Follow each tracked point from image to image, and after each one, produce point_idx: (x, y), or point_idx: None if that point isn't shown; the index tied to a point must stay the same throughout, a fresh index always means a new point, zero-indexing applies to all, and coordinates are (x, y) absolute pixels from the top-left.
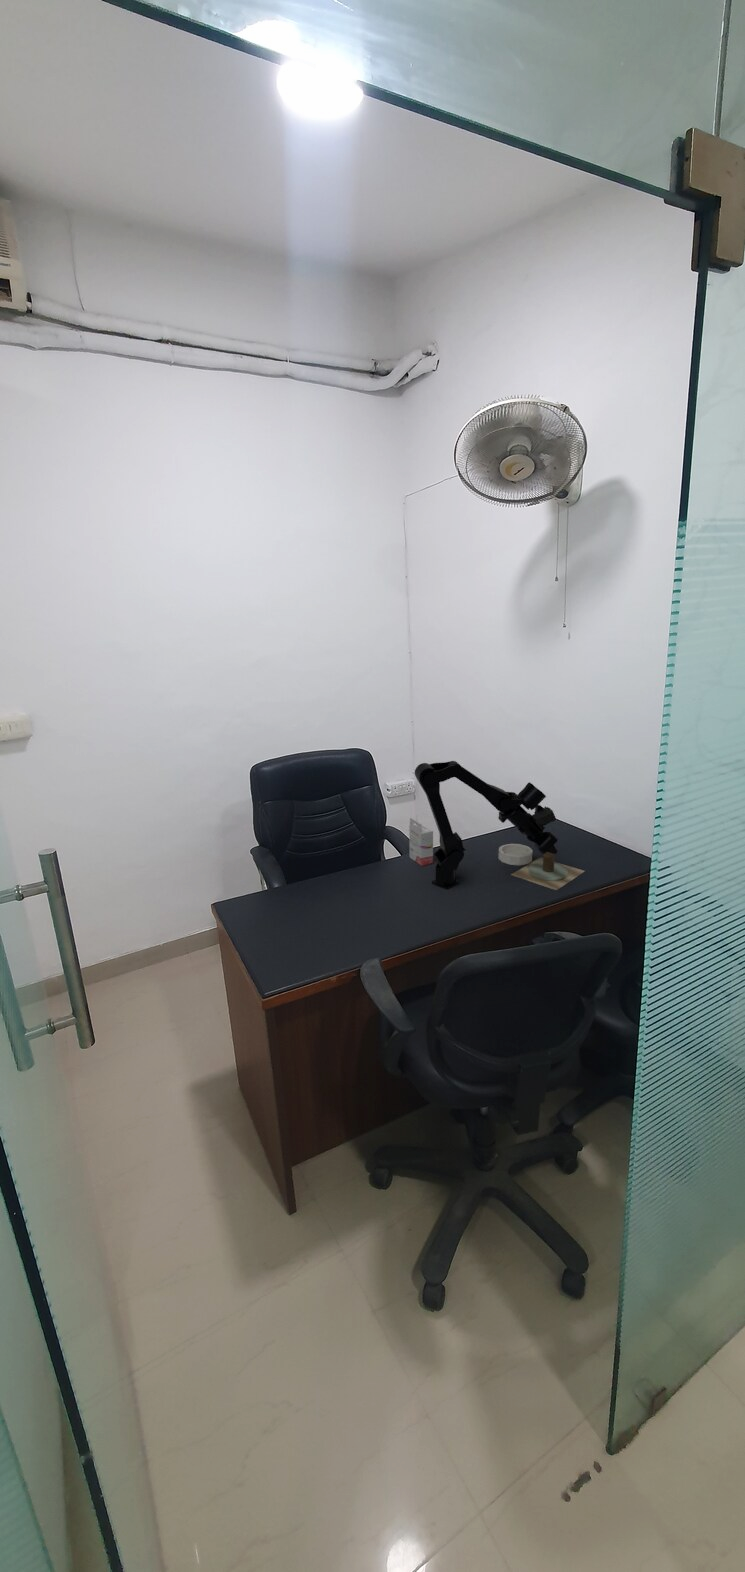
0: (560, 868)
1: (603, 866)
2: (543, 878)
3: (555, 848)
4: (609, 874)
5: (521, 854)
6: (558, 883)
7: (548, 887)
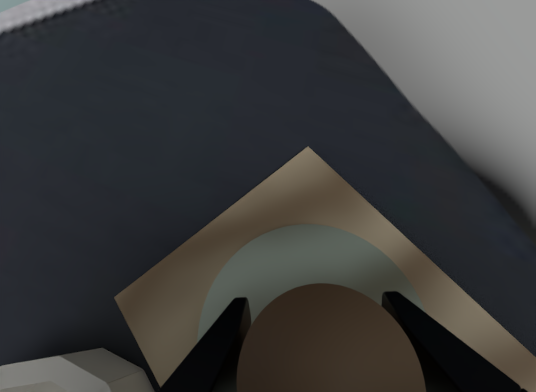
0: (297, 253)
1: (266, 72)
2: None
3: (451, 335)
4: (339, 74)
5: None
6: (458, 328)
7: None
